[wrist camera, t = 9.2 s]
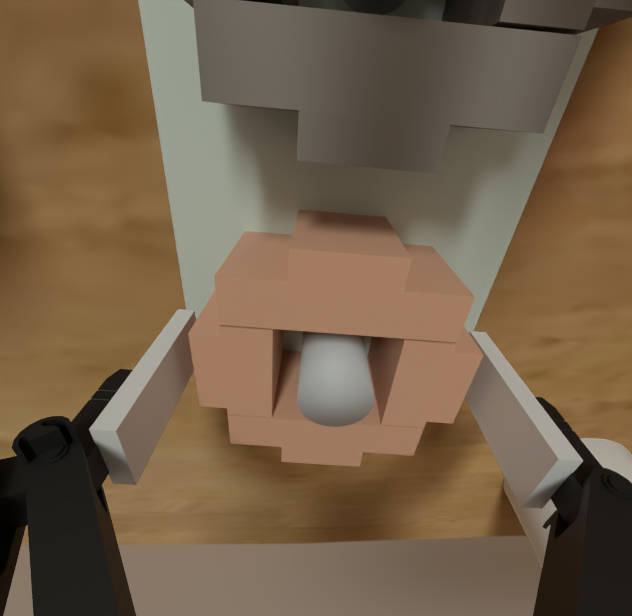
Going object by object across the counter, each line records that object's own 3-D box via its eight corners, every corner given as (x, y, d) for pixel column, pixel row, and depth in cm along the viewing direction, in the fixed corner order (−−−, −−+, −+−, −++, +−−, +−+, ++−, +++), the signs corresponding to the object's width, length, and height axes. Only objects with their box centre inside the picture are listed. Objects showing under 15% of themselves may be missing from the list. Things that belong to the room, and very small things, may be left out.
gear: (232, 385, 20) (208, 457, 16) (217, 202, 14) (172, 239, 10) (408, 397, 21) (430, 471, 16) (464, 223, 15) (523, 267, 10)
